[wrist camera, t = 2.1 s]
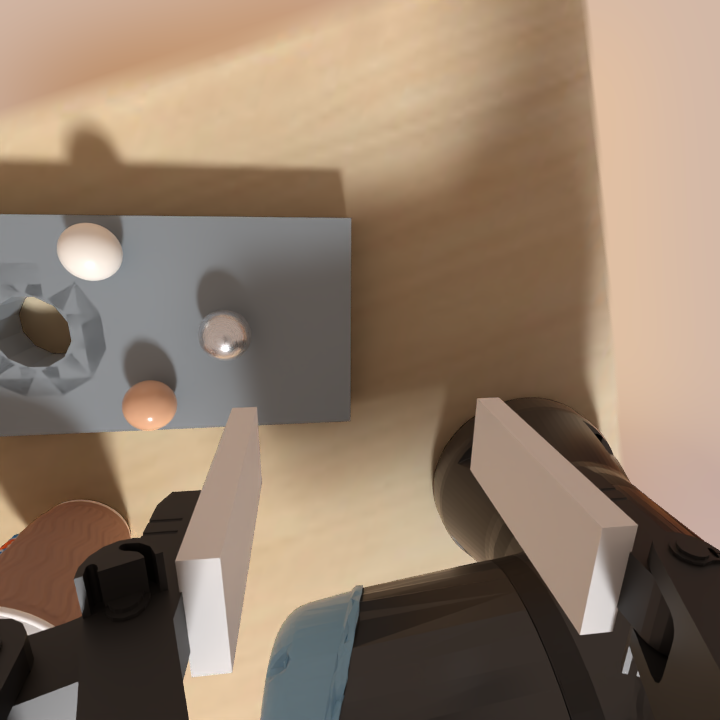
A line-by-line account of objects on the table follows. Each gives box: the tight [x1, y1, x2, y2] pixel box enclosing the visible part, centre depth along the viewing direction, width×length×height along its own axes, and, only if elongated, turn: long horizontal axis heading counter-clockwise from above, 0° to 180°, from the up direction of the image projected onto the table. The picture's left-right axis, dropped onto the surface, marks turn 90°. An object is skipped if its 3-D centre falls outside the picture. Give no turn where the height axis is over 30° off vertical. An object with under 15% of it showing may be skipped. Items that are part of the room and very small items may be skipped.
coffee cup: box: [0, 500, 131, 635], centre depth 30 cm, size 10×10×12 cm
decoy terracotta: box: [122, 380, 177, 431], centre depth 28 cm, size 3×3×3 cm
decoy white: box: [57, 223, 123, 281], centre depth 25 cm, size 3×3×3 cm
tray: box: [0, 214, 351, 437], centre depth 29 cm, size 26×14×4 cm, turn 89°
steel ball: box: [198, 309, 252, 361], centre depth 28 cm, size 3×3×3 cm
